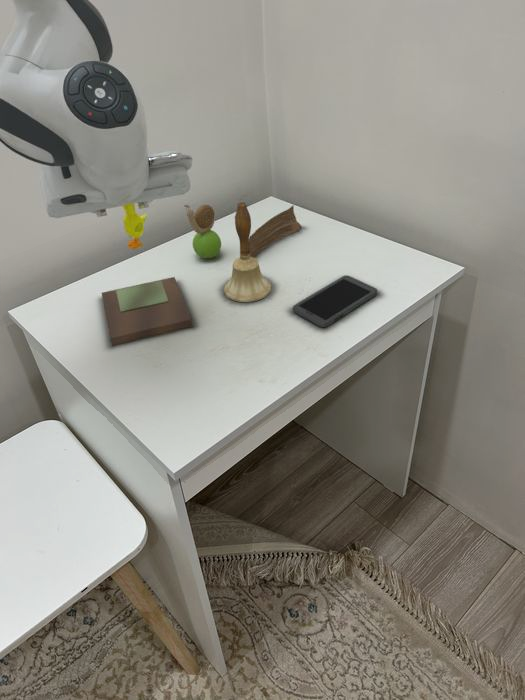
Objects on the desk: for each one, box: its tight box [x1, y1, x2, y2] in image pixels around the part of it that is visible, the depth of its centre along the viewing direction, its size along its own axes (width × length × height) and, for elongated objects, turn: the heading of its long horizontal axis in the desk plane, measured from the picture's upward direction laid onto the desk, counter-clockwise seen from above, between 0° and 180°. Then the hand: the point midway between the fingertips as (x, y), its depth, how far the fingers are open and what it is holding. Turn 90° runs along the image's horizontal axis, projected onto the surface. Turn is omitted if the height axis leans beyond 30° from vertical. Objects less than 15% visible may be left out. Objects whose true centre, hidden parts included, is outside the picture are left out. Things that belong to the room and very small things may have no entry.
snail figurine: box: [184, 203, 222, 259], centre depth 102 cm, size 5×6×12 cm
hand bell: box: [223, 201, 272, 303], centre depth 91 cm, size 8×8×16 cm
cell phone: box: [292, 275, 379, 328], centre depth 91 cm, size 7×14×1 cm, turn 132°
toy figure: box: [108, 203, 148, 251], centre depth 83 cm, size 7×4×12 cm, turn 130°
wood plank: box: [249, 204, 302, 258], centre depth 107 cm, size 15×2×5 cm, turn 143°
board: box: [101, 276, 194, 346], centre depth 91 cm, size 13×14×2 cm
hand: (121, 207), depth 83 cm, fingers closed on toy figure, 5 cm apart
